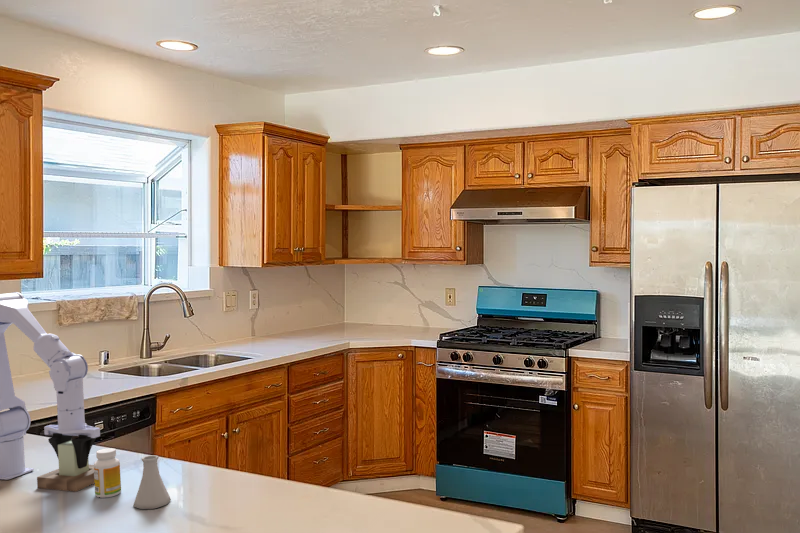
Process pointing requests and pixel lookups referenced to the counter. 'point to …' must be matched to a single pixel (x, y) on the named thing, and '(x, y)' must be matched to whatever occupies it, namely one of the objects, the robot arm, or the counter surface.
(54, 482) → the socket
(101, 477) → the supplement bottle
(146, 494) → the flask
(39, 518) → the counter surface
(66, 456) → the peg
